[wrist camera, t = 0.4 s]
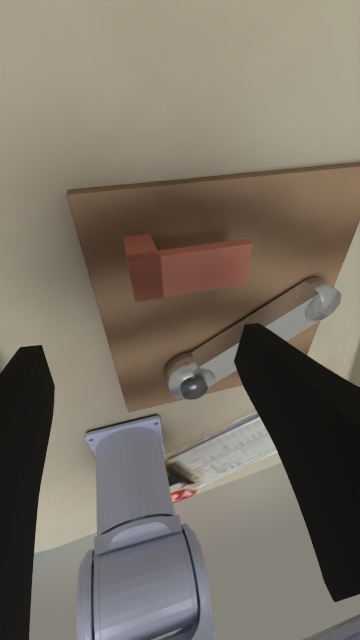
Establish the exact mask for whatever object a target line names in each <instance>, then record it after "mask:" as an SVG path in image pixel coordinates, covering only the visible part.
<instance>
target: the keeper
mask: <svg viewBox="0 0 360 640" xmlns="http://www.w3.org/2000/svg"><path fill="white" fill-rule="evenodd" d="M123 241H124V247H125V253H126V258H127V264H128V270H129V275H130V280H131V285H132V289H133V294H134V299H135V303H137V302H143V301H149V300H155V299H160V298H166V297H172V296H178V295H184V294H190V293H196V292H201V291H207V290H213V289H219V288H225V287H231V286H237V285H242V284H247V277H248V270H249V263H250V257H251V250H252V243H251V242H250V241H249V240H248V239H240V240H233V241H226V242H219V243H211V244H204V245H197V246H190V247H183V248H176V249H168V250H161V251H158V250H157V248H156V246H155V244H154V241H153V239H152V237H151V235H150V233H149V234H141V235H133V236H125V237H123Z"/></svg>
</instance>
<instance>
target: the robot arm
mask: <svg viewBox="0 0 360 640" xmlns="http://www.w3.org/2000/svg"><path fill="white" fill-rule="evenodd" d="M234 363H235V366H236V369H237V372H238V374H239V377H240V379H241V382H242V384H243V386H244V388H245V390H246V392H247V394H248V396H249V398H250V400H251V401H252V403H253V405H254V407H255V409H256V411H257V412H258V414H259V416H260V418H261V420H262V422H263V424H264V425H265V427H266V429H267V431H268V433H269V435H270V437H271V439H272V441H273V443H274V445H275V447H276V449H277V451H278V454H279V456H280V458H281V461H282V463H283V466H284V468H285V470H286V473H287V475H288V478H289V480H290V483H291V485H292V488H293V490H294V493H295V495H296V498H297V500H298V503H299V506H300V509H301V512H302V515H303V517H304V520H305V523H306V526H307V529H308V531H309V534H310V537H311V541H312V544H313V547H314V550H315V553H316V556H317V559H318V562H319V566H320V569H321V572H322V576H323V579H324V582H325V584H326V586H327V588H328V591H329V593H330V595H331V597H332V599H333V600H334V601H335V602H337V601H340V600H343V599H346V598H349V597H352V596H355V595H358V594H360V387H358V386H356V385H354V384H352V383H351V382H349V381H347V380H345V379H344V378H342V377H340V376H339V375H337V374H335V373H334V372H332V371H330V370H329V369H327V368H326V367H324V366H322V365H321V364H319V363H318V362H316V361H315V360H313V359H312V358H310V357H309V356H307V355H306V354H304V353H303V352H301V351H300V350H298V349H297V348H295V347H294V346H292V345H291V344H289V343H288V342H287V341H285V340H284V339H282V338H281V337H279V336H278V335H276V334H275V333H274V332H272V331H271V330H269V329H268V328H266V327H265V326H263V325H261V324H260V323H253V324H245V325H244V328H243V332H242V335H241V338H240V342H239V345H238V349H237V352H236V355H235V359H234ZM54 389H55V386H54V382H53V379H52V376H51V373H50V370H49V367H48V364H47V360H46V357H45V354H44V351H43V348H42V345H38V346H28V347H20V348H19V349H18V351H17V352H16V353H15V354H14V356H13V357H12V358H11V360H10V361H9V363H8V364H7V365H6V367H5V368H4V369H3V371H2V372H1V373H0V640H29V625H30V606H31V588H32V572H33V558H34V544H35V531H36V520H37V508H38V499H39V492H40V485H41V479H42V474H43V468H44V463H45V457H46V452H47V446H48V441H49V435H50V430H51V424H52V418H53V408H54ZM85 439H86V441H87V443H88V445H89V447H90V448H91V450H92V452H93V454H94V456H95V458H96V498H97V536H96V537H95V538H94V550H93V549H92V550H88V551H87V552H86V554H85V557H84V558H83V559H82V561H81V563H80V566H79V573H78V586H77V640H151V639H154V638H156V637H158V636H161V635H164V634H166V633H169V632H172V631H174V630H177V629H180V628H181V630H179V631H178V632H176V633H175V634H173V635H170V636H167V637H165V638H162V639H159V640H214V638H215V628H214V623H213V618H212V612H211V605H210V588H209V581H208V575H207V570H206V565H205V560H204V556H203V553H202V549H201V546H200V543H199V540H198V538H197V535H196V533H195V532H194V530H192V529H191V528H190V527H189V526H188V525H187V524H183V525H181V521H180V517H179V515H175V513H174V508H173V503H172V498H171V493H170V488H169V483H168V478H167V473H166V468H165V463H164V458H163V457H164V456H165V449H164V442H163V436H162V429H161V422H160V417H159V416H152V417H148V418H144V419H140V420H136V421H132V422H128V423H124V424H120V425H116V426H112V427H108V428H104V429H100V430H95V431H91V432H88V433H86V434H85ZM303 640H360V614H359V615H357V616H355V617H352V618H350V619H348V620H345V621H343V622H341V623H339V624H337V625H334V626H332V627H330V628H328V629H325V630H323V631H321V632H319V633H317V634H314V635H312V636H310V637H308V638H305V639H303Z"/></svg>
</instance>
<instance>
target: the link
mask: <svg viewBox="0 0 360 640" xmlns="http://www.w3.org/2000/svg"><path fill="white" fill-rule="evenodd" d="M340 301H341V293H340V292H339V291H338V290H337V289H335V288H334V287H333V286H331V285H330V284H329V283H328V282H326V281H325V280H324V279H322V278H320V277H313V278H310V279H308V280H306V281H304V282H302V283H301V284H299V285H298V286H296V287H294V288H293V289H291V290H290V291H288V292H287V293H285V294H283V295H282V296H280V297H279V298H277V299H275V300H274V301H272V302H271V303H269V304H267V305H266V306H264V307H263V308H261V309H259V310H258V311H256V312H255V313H253V314H252V315H250V316H248V317H247V318H245V319H244V320H242V321H240V322H239V323H237V324H236V325H234V326H232V327H231V328H229V329H228V330H226V331H224V332H223V333H221V334H220V335H218V336H217V337H215V338H213V339H212V340H210V341H209V342H207V343H205V344H204V345H202V346H201V347H199V348H197V349H196V350H194V351H193V352H190V353H185V354H182V355H179V356H177V357H176V358H174V359H173V360H172V361H171V362H170V363H169V364H168V365H167V367H166V370H165V375H166V378H167V382H168V386H169V390H170V393H171V394H172V395H173V396H174V397H176V398H179V399H190V400H191V399H197V398H199V397H201V396H203V395H204V394H205V393H206V392H207V391H208V390H210V389H211V387H212V386H213V384H215V383H216V382H218V381H220V380H222V379H223V378H225V377H227V376H228V375H230V374H232V373H233V372H235V371H237V369H236V366H235V363H234V359H235V355H236V352H237V349H238V345H239V342H240V338H241V335H242V332H243V328H244V325H245V324H253V323H260V324H261V325H263V326H265V327H266V328H268V329H269V330H271V331H272V332H274V333H275V334H276V335H278V336H279V337H281V338H282V339H284V340H285V341H287V340H289V339H291V338H292V337H294V336H296V335H297V334H299V333H301V332H302V331H304V330H306V329H307V328H309V327H311V326H312V325H314V324H316V323H318V322H319V321H321V320H323V319H324V318H326V317H327V316H329V315H330V314H331V313H333V312H334V311H335V309H336V308H337V307H338V305H339V303H340Z"/></svg>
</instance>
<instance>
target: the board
mask: <svg viewBox="0 0 360 640" xmlns="http://www.w3.org/2000/svg"><path fill="white" fill-rule="evenodd" d="M67 198H68V201H69V205H70V209H71V212H72V216H73V219H74V223H75V226H76V230H77V233H78V237H79V240H80V244H81V247H82V251H83V254H84V258H85V261H86V265H87V269H88V272H89V276H90V279H91V283H92V286H93V290H94V293H95V297H96V300H97V304H98V307H99V311H100V314H101V318H102V322H103V325H104V329H105V332H106V336H107V339H108V343H109V346H110V350H111V353H112V357H113V360H114V364H115V367H116V371H117V374H118V378H119V382H120V385H121V389H122V392H123V396H124V399H125V403H126V406H127V410H128V412H132V411H136V410H141V409H145V408H149V407H153V406H157V405H161V404H165V403H170V402H174V401H178V400H182V399H179V398H176V397H174V396H173V395H172V394H171V393H170V390H169V386H168V382H167V378H166V375H165V370H166V367H167V365H168V364H169V363H170V362H171V361H172V360H173V359H174V358H176V357H177V356H179V355H182V354H185V353H190V352H193V351H194V350H196V349H197V348H199V347H201V346H202V345H204V344H205V343H207V342H209V341H210V340H212V339H213V338H215V337H217V336H218V335H220V334H221V333H223V332H224V331H226V330H228V329H229V328H231V327H232V326H234V325H236V324H237V323H239V322H240V321H242V320H244V319H245V318H247V317H248V316H250V315H252V314H253V313H255V312H256V311H258V310H259V309H261V308H263V307H264V306H266V305H267V304H269V303H271V302H272V301H274V300H275V299H277V298H279V297H280V296H282V295H283V294H285V293H287V292H288V291H290V290H291V289H293V288H294V287H296V286H298V285H299V284H301V283H302V282H304V281H306V280H308V279H310V278H313V277H320V278H322V279H324V280H325V281H326V282H328V283H329V284H330V285H331V286H333V287H334V285H335V282H336V280H337V277H338V275H339V272H340V270H341V267H342V264H343V262H344V259H345V257H346V254H347V252H348V249H349V247H350V244H351V242H352V239H353V237H354V234H355V232H356V229H357V226H358V224H359V221H360V163H350V164H340V165H329V166H319V167H308V168H297V169H287V170H276V171H266V172H255V173H244V174H234V175H223V176H213V177H202V178H191V179H181V180H170V181H160V182H149V183H139V184H128V185H117V186H107V187H96V188H86V189H75V190H68V192H67ZM149 233H150V235H151V237H152V239H153V241H154V244H155V246H156V248H157V250H158V251H161V250H168V249H176V248H183V247H190V246H197V245H204V244H211V243H219V242H226V241H233V240H240V239H248V240H249V241H250V242H251V243H252V250H251V257H250V263H249V270H248V277H247V284H242V285H237V286H231V287H225V288H219V289H213V290H207V291H201V292H196V293H190V294H184V295H178V296H172V297H166V298H160V299H155V300H149V301H143V302H137V303H135V299H134V294H133V289H132V285H131V280H130V275H129V270H128V264H127V258H126V253H125V247H124V241H123V237H125V236H133V235H141V234H149ZM319 323H320V321H319V322H318V323H316V324H314V325H312V326H311V327H309V328H307V329H306V330H304V331H302V332H301V333H299V334H297V335H296V336H294V337H292V338H291V339H289V340H287V342H288V343H289V344H291V345H292V346H294V347H295V348H297V349H298V350H300V351H301V352H303V353H304V354H306V355H307V353H308V351H309V348H310V346H311V343H312V341H313V338H314V335H315V333H316V330H317V328H318V325H319ZM240 385H243V384H242V382H241V379H240V377H239V374H238V372H237V371H235V372H233V373H232V374H230V375H228V376H227V377H225V378H223V379H222V380H220V381H218V382H216V383H215V384H213V386H212V387H211V389H210V390H208V391H207V392H206V393H205V394H207V393H211V392H215V391H220V390H224V389H228V388H232V387H236V386H240Z"/></svg>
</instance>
